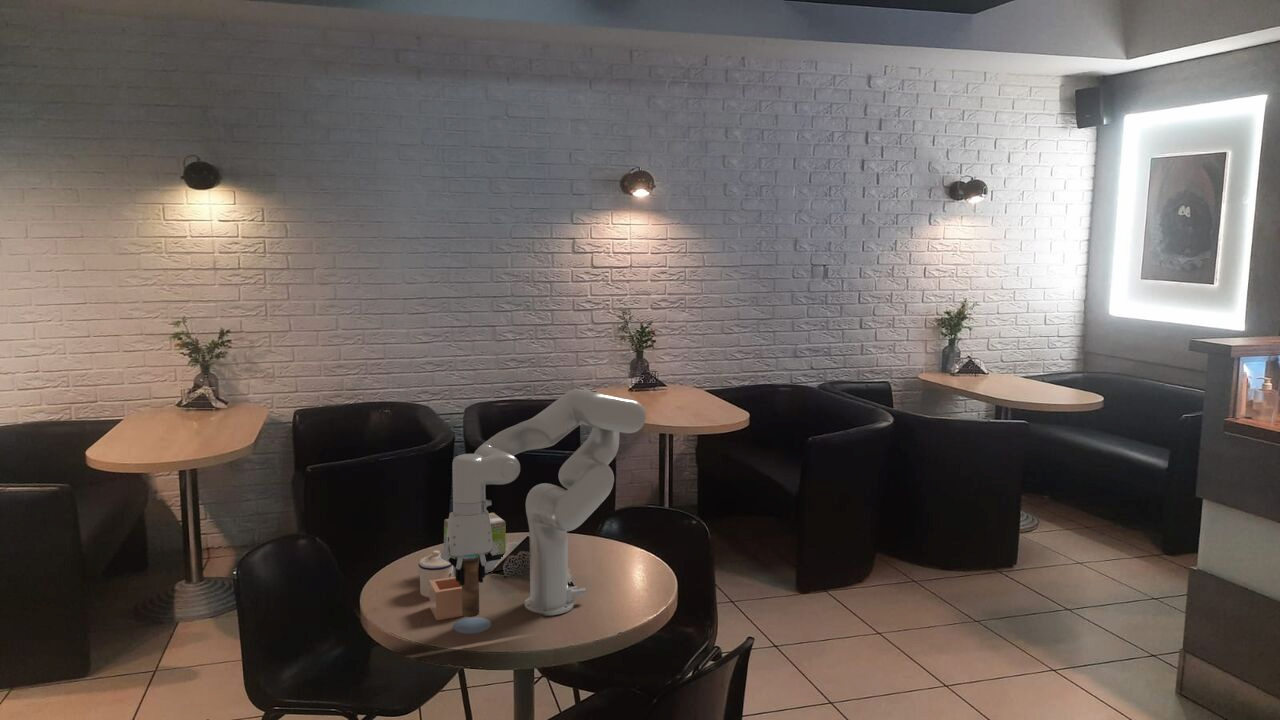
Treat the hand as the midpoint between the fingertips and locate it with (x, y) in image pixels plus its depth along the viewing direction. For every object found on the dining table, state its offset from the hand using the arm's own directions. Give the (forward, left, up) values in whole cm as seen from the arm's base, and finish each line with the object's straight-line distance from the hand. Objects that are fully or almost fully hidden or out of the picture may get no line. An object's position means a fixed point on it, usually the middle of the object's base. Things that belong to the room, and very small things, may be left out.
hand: (470, 581), depth 208 cm
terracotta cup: (+3, -11, -12) cm, 16 cm away
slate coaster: (0, 0, -12) cm, 12 cm away
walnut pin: (0, 0, -8) cm, 8 cm away
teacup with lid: (+3, -26, -12) cm, 29 cm away
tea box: (-10, -38, -12) cm, 41 cm away
